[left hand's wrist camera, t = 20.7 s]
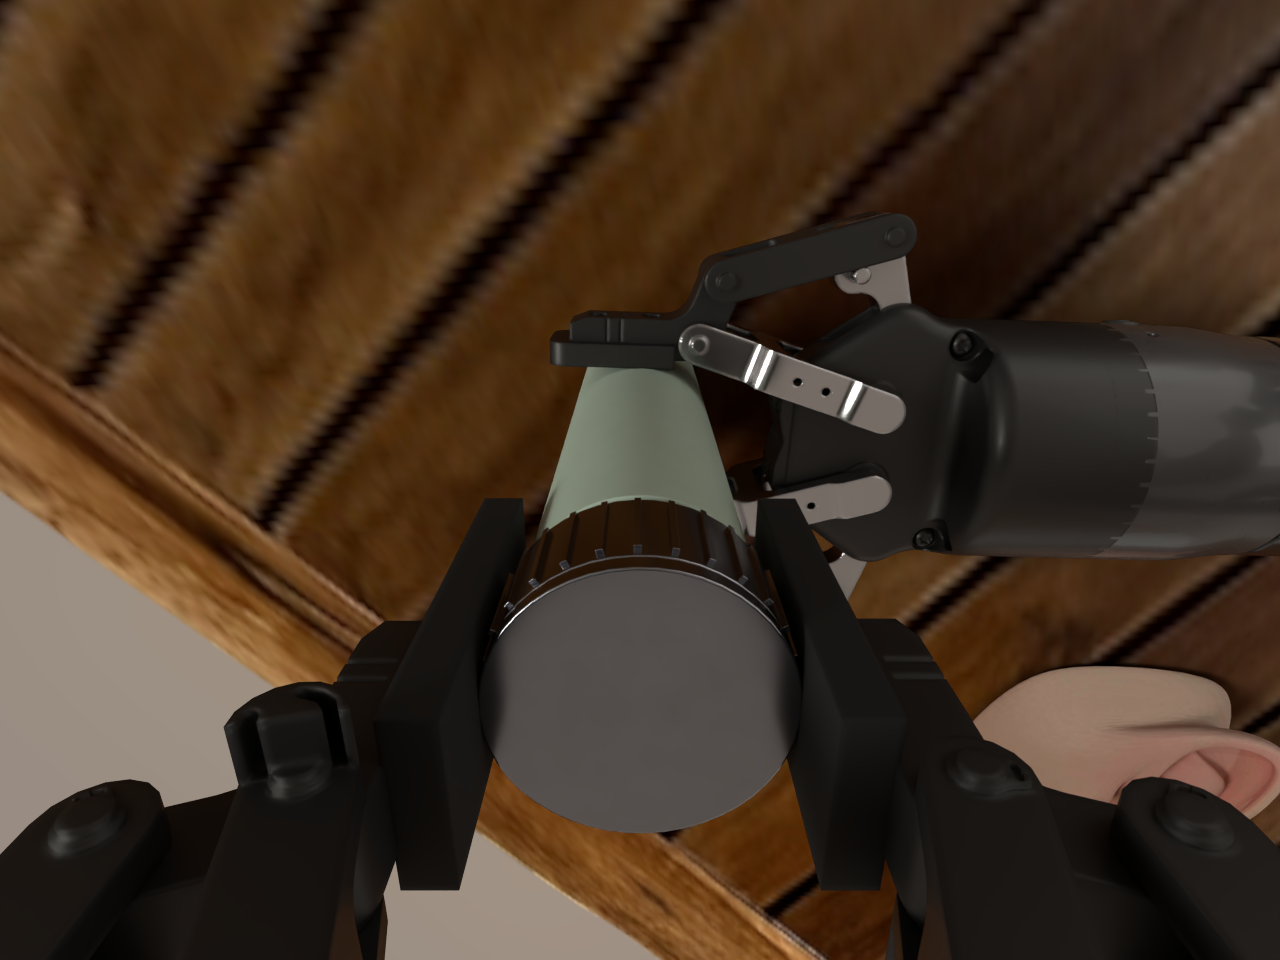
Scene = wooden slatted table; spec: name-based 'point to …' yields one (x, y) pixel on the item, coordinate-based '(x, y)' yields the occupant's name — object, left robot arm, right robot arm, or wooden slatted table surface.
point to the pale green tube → (640, 446)
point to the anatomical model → (1131, 734)
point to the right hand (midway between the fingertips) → (555, 425)
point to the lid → (640, 670)
